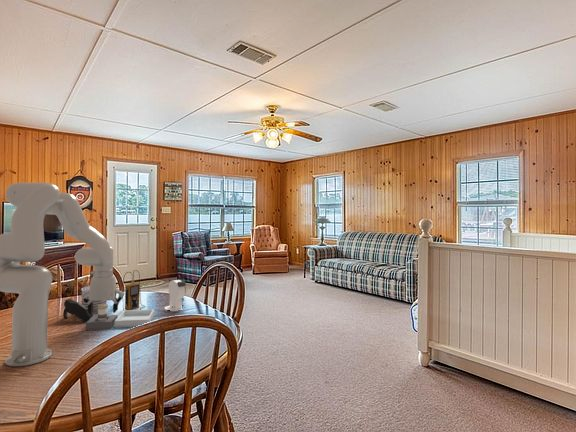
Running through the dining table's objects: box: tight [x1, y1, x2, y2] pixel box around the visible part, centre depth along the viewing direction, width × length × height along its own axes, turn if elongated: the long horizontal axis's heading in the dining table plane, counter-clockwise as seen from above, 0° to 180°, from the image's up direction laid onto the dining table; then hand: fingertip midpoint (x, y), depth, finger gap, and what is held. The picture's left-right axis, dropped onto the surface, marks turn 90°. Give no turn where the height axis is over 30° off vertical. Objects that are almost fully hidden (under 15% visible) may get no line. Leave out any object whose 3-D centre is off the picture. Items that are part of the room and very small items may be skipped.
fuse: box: [97, 303, 109, 320], centre depth 149 cm, size 4×4×9 cm
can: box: [80, 285, 107, 314], centre depth 171 cm, size 11×11×12 cm
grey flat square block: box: [85, 314, 119, 331], centre depth 149 cm, size 10×10×3 cm
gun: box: [62, 298, 94, 323], centre depth 156 cm, size 3×16×10 cm, turn 79°
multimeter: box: [122, 269, 145, 312], centre depth 175 cm, size 15×10×20 cm
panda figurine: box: [164, 277, 187, 312], centre depth 179 cm, size 12×11×15 cm
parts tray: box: [113, 309, 155, 329], centre depth 156 cm, size 16×14×3 cm
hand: (103, 312), depth 150 cm, fingers open, 9 cm apart
